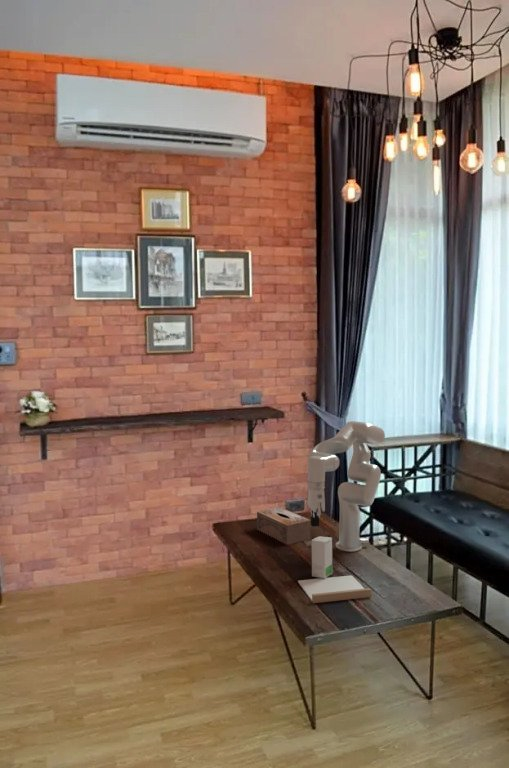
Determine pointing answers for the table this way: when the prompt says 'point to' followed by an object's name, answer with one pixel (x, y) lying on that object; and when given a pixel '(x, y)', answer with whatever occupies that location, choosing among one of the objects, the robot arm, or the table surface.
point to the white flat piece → (334, 589)
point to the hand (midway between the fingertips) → (314, 525)
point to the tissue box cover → (283, 525)
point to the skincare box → (321, 557)
